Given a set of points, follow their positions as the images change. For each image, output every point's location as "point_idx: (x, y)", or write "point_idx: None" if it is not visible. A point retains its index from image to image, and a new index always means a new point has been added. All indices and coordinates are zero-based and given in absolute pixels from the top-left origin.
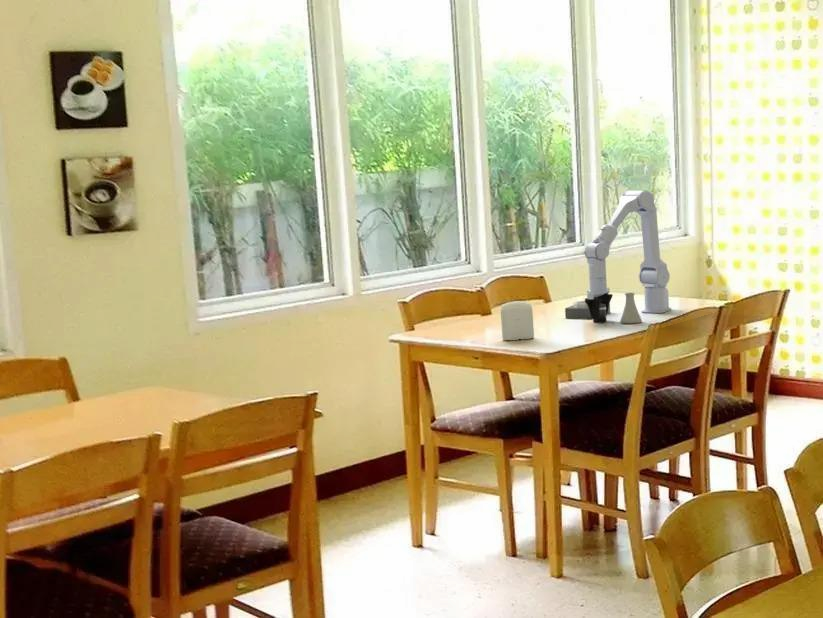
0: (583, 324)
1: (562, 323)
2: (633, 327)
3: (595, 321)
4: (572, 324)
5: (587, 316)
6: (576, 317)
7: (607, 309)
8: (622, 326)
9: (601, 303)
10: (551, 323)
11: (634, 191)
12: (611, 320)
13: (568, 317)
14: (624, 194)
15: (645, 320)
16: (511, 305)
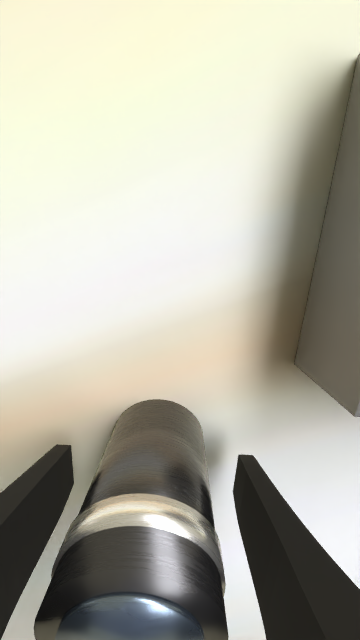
0: (41, 366)
1: (44, 164)
2: (21, 623)
3: (112, 433)
4: (19, 282)
5: (317, 310)
6: (335, 194)
7: (250, 563)
8: (34, 580)
9: (293, 617)
10: (15, 25)
11: None
12: (225, 484)
13: (355, 92)
14: None
15: (228, 622)
16: None
